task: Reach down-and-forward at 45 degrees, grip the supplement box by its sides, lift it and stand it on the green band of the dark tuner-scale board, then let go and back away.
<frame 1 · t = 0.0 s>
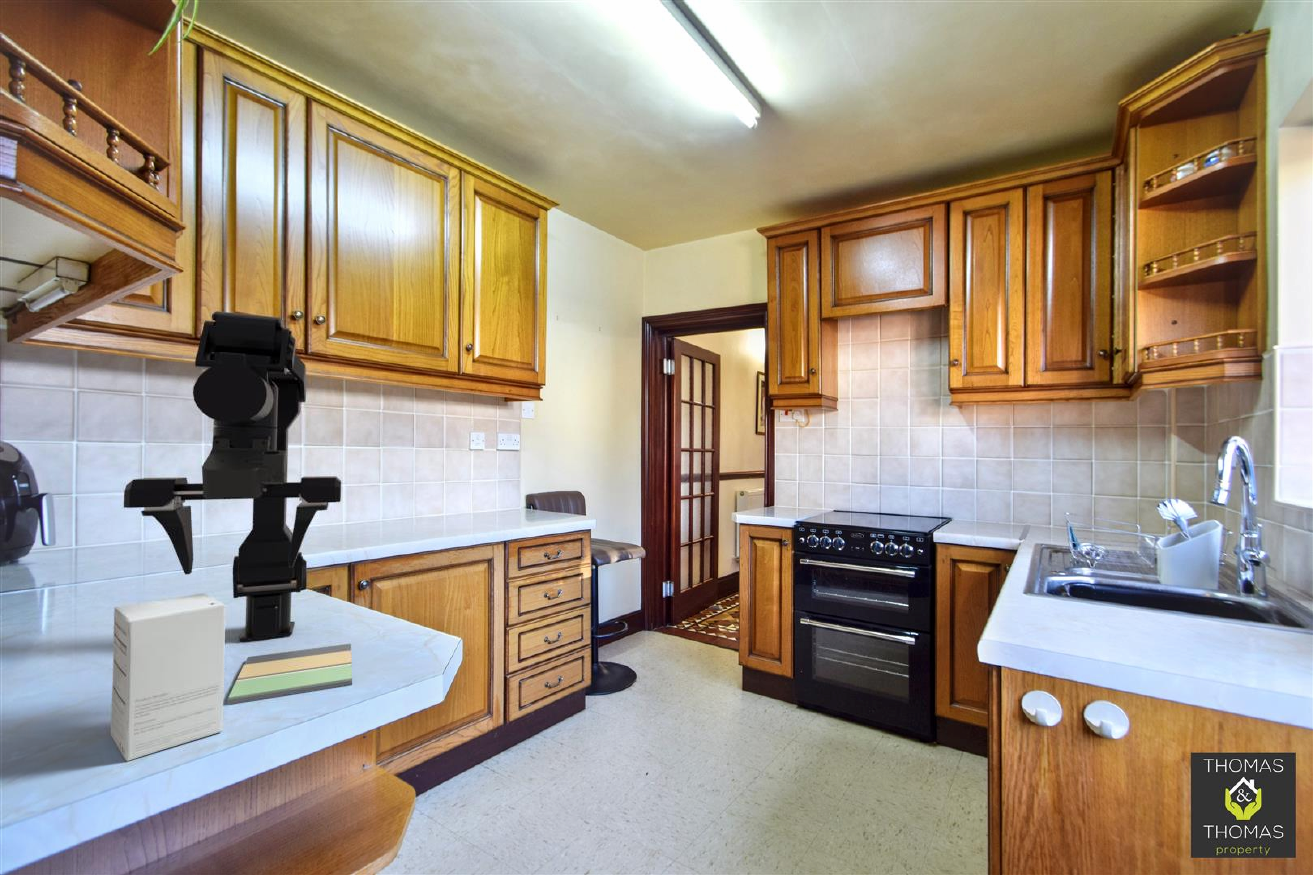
hand: (241, 569, 63), 15 cm above the countertop, tool pointing down, fingers open, 9 cm apart
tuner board: (297, 672, 72), on the countertop
supplement box: (166, 737, 56), on the countertop
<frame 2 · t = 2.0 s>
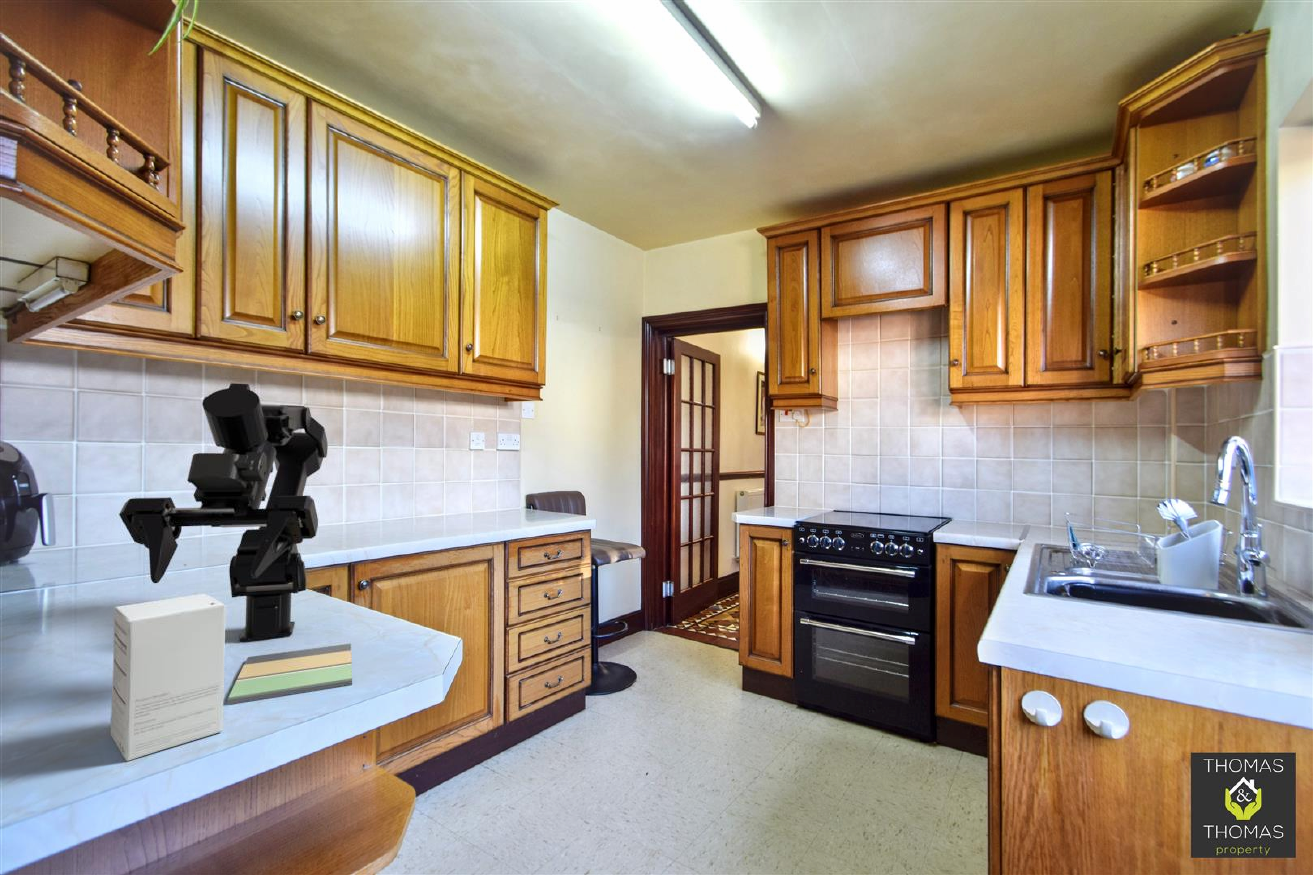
hand: (205, 578, 64), 13 cm above the countertop, tool tilted 45°, fingers open, 9 cm apart
nothing on the countertop moved.
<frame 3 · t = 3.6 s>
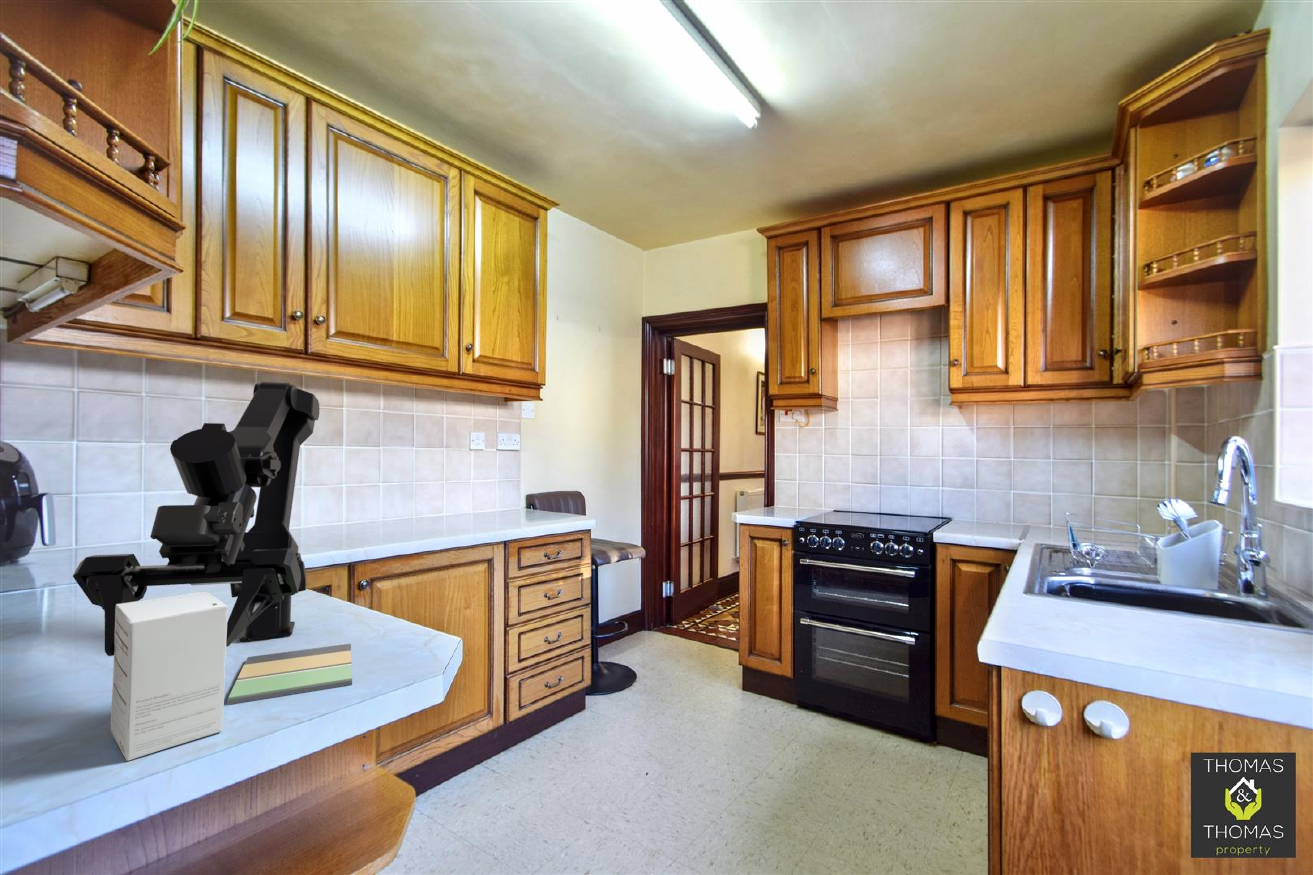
hand: (168, 649, 56), 8 cm above the countertop, tool tilted 45°, fingers open, 9 cm apart
supplement box: (166, 735, 56), on the countertop, touching gripper
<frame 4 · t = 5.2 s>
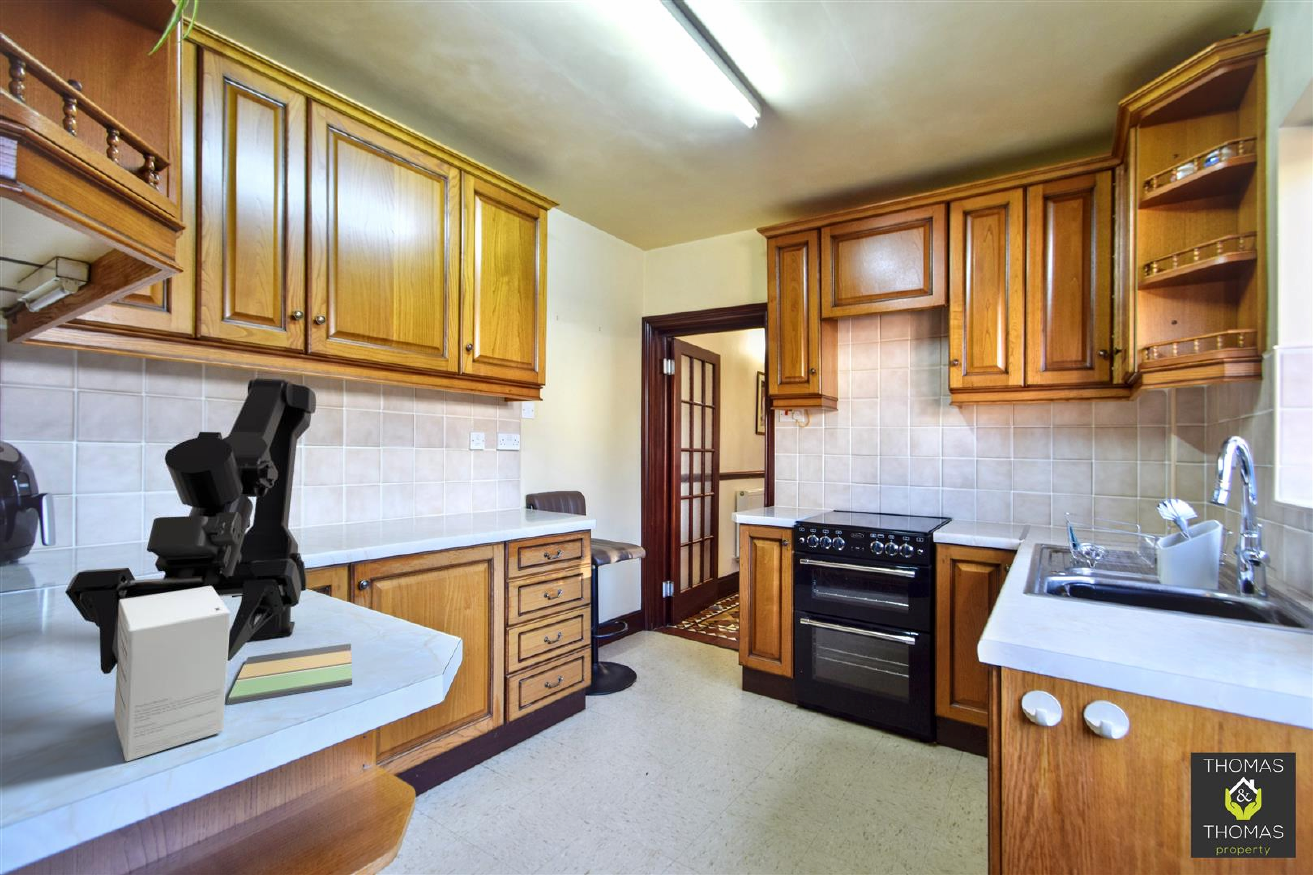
hand: (167, 665, 55), 7 cm above the countertop, tool tilted 45°, fingers closed on supplement box, 9 cm apart
supplement box: (168, 729, 56), point 1 cm above the countertop, touching gripper
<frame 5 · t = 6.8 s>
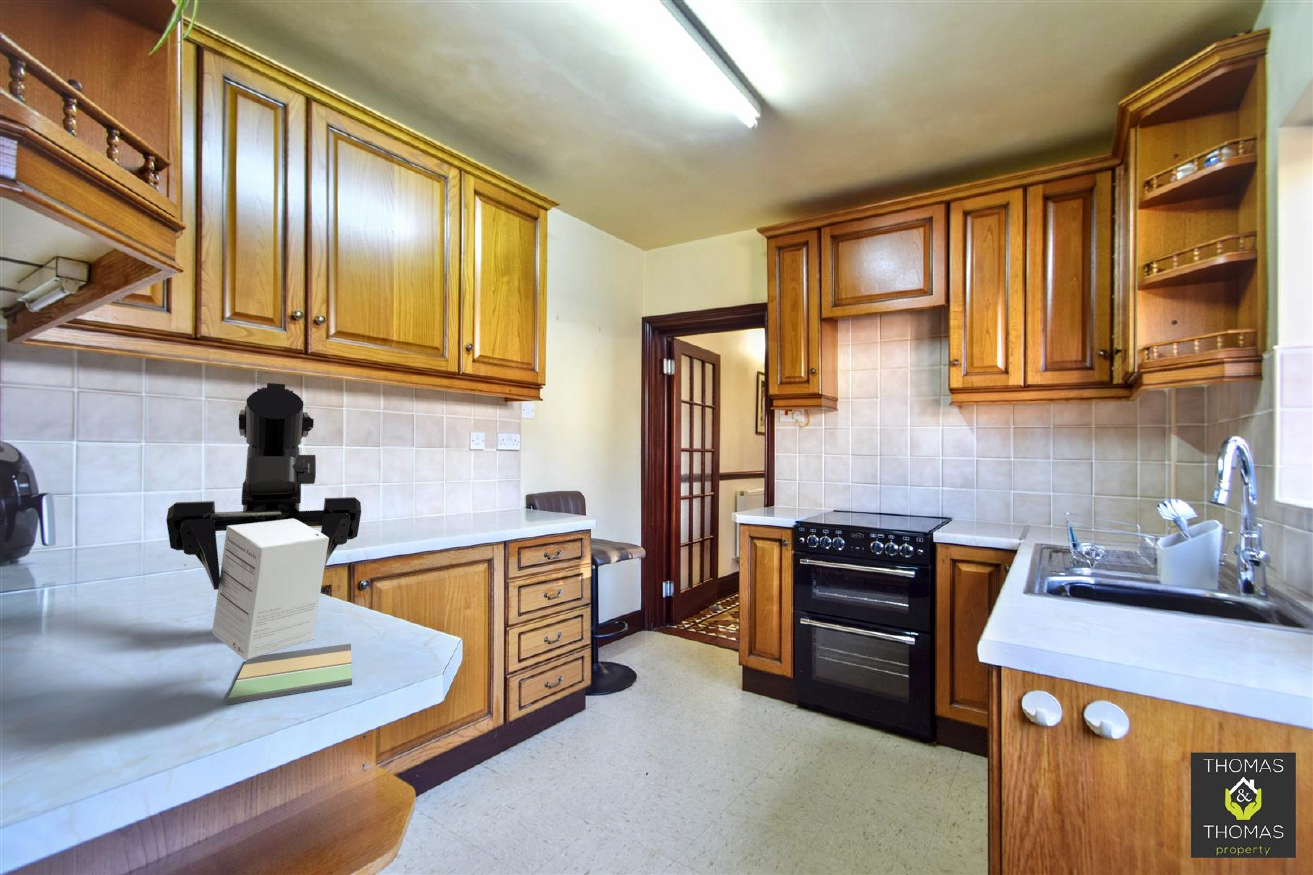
hand: (268, 582, 64), 13 cm above the countertop, tool tilted 45°, fingers closed on supplement box, 9 cm apart
supplement box: (262, 639, 65), point 7 cm above the countertop, touching gripper
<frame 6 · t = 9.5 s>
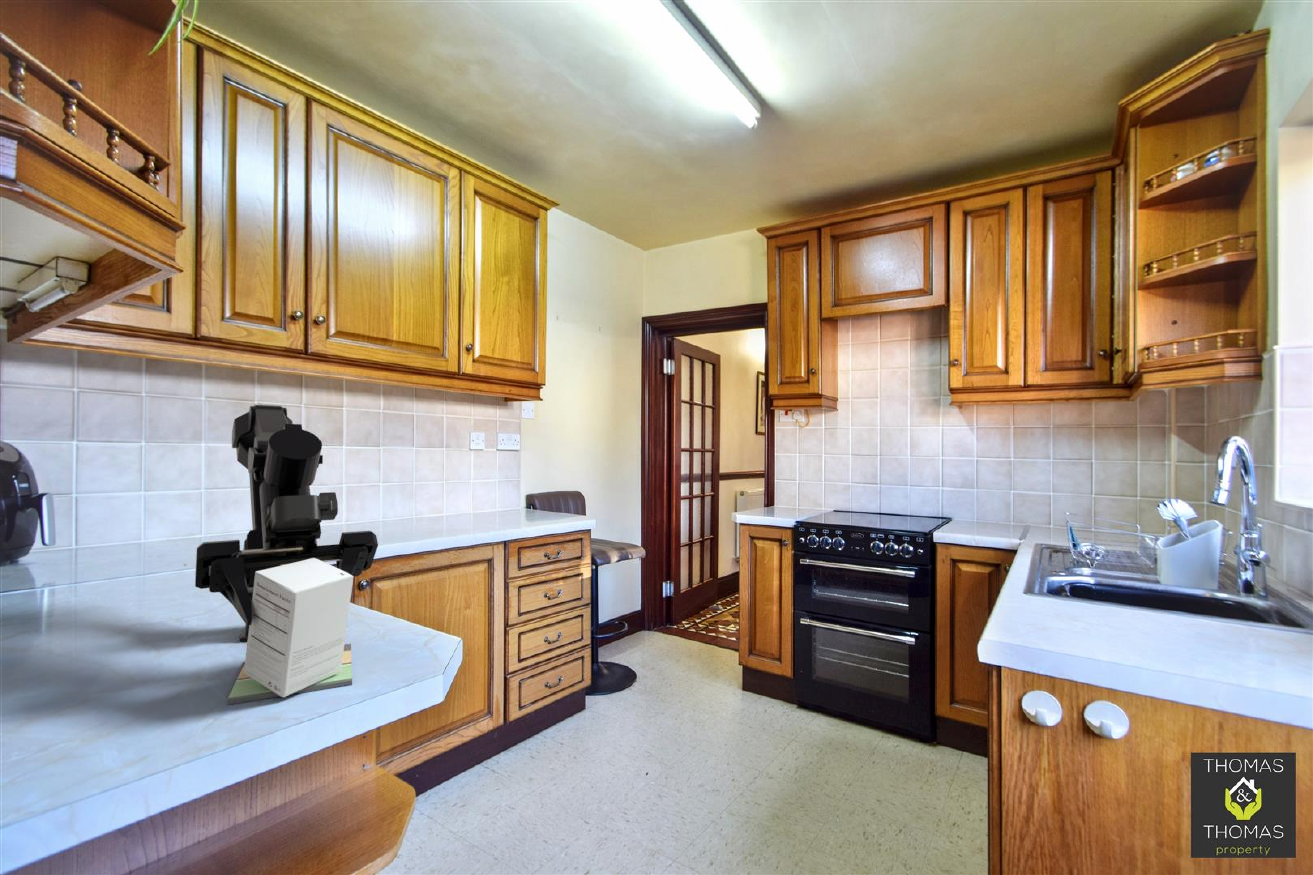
hand: (297, 616, 67), 8 cm above the countertop, tool tilted 45°, fingers closed on supplement box, 9 cm apart
supplement box: (292, 675, 68), point 1 cm above the countertop, touching gripper, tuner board
when the fingers open (8 cm above the countertop, at t = 9.7 s): supplement box stays where it is, resting on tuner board.
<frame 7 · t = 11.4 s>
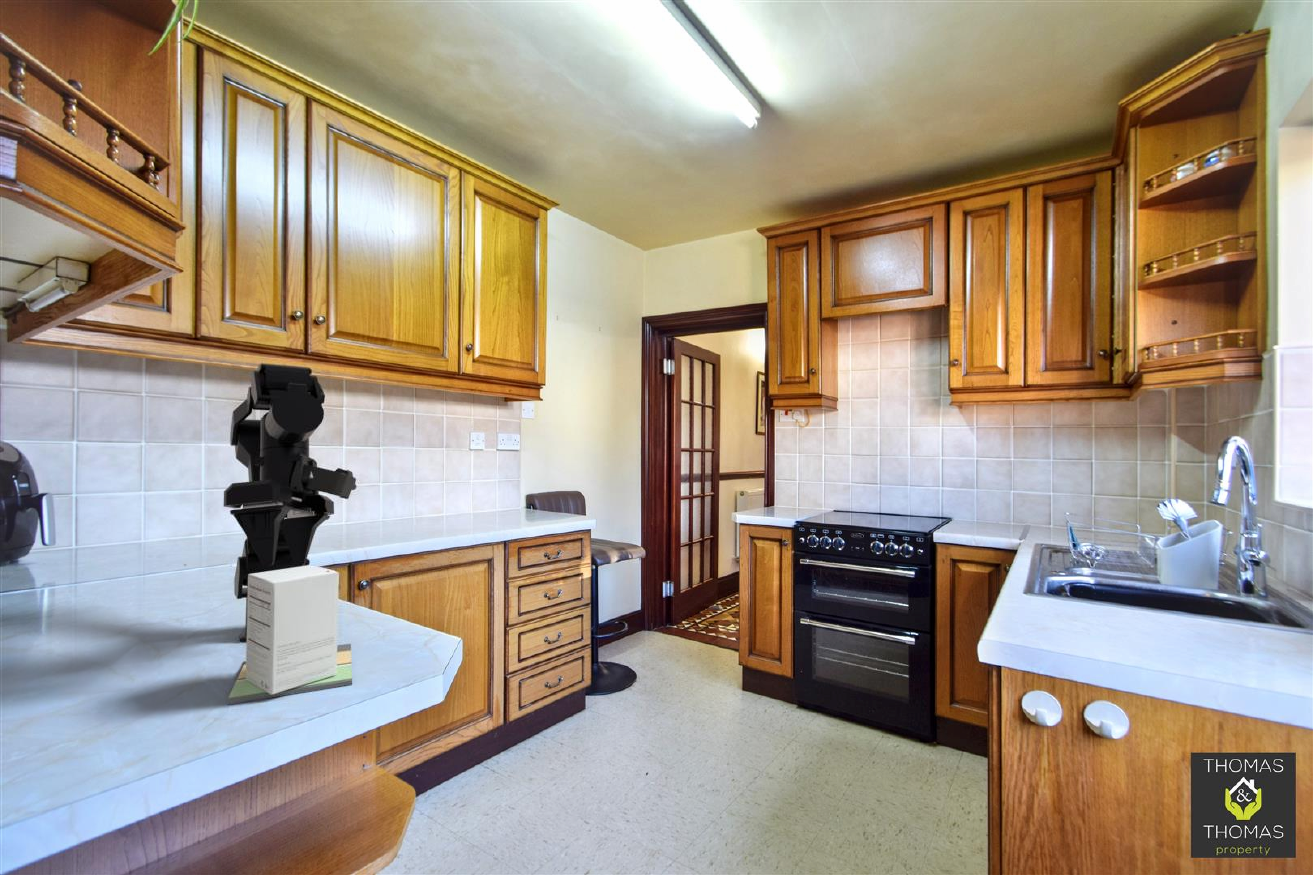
hand: (285, 565, 77), 12 cm above the countertop, tool pointing down, fingers open, 9 cm apart
supplement box: (291, 679, 68), resting on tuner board
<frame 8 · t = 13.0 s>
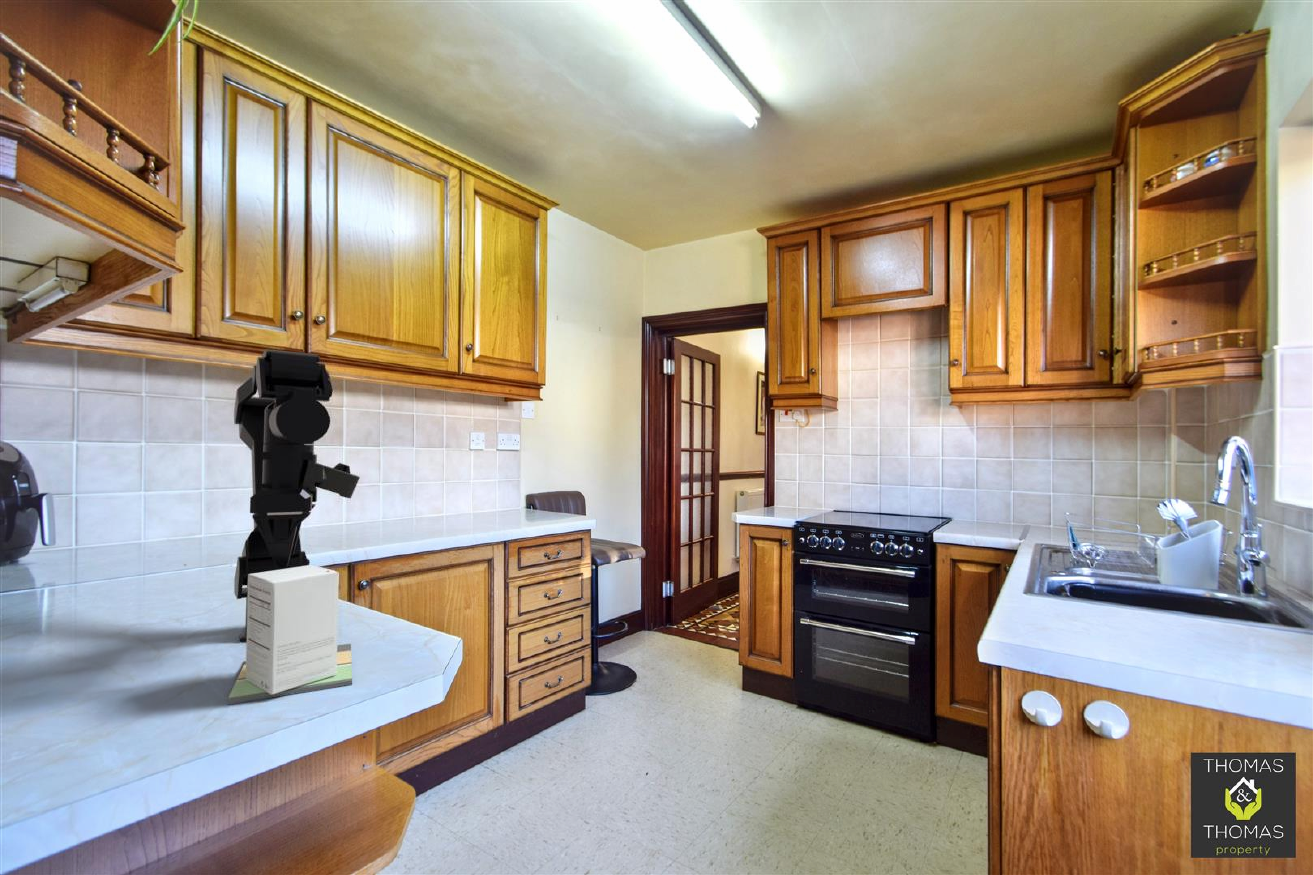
hand: (285, 561, 77), 13 cm above the countertop, tool pointing down, fingers open, 9 cm apart
nothing on the countertop moved.
at the end: supplement box inside the target area (1.0 cm from its centre), resting on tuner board; supplement box tilted 0°; the gripper is holding nothing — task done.
